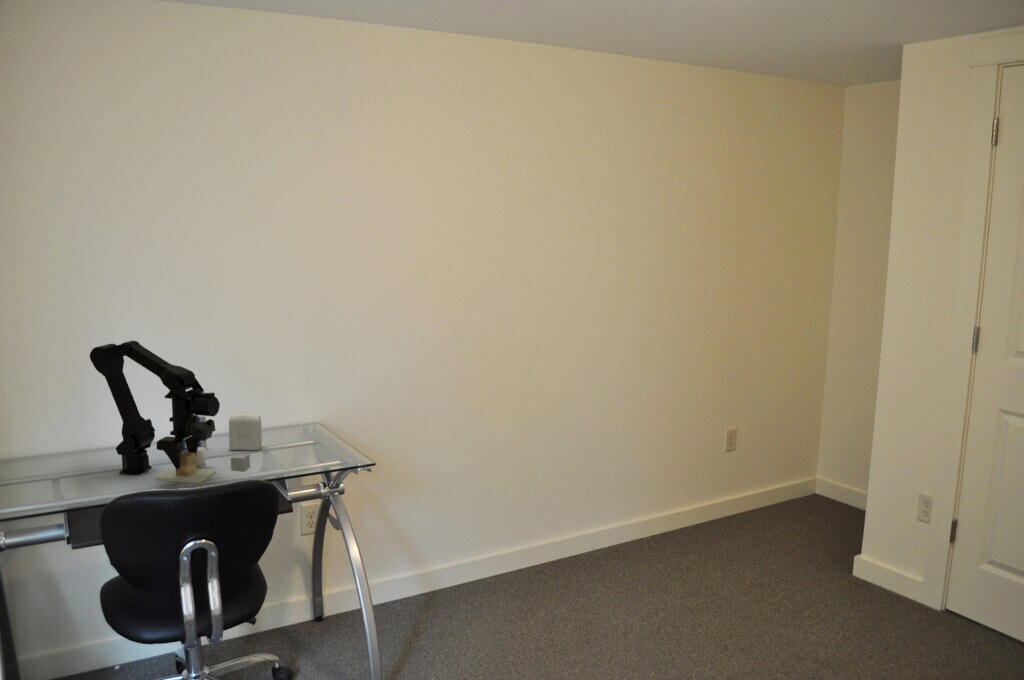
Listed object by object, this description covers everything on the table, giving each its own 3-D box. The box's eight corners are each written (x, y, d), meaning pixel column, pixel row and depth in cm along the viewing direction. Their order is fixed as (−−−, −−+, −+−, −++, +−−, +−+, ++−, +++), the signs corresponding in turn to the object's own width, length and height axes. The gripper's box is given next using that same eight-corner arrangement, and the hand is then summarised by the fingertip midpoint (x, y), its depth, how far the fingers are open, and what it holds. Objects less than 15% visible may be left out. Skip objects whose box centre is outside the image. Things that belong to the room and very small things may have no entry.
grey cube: (231, 470, 230) (230, 457, 229) (237, 465, 234) (237, 453, 233) (243, 471, 229) (243, 458, 229) (249, 466, 233) (249, 454, 233)
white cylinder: (187, 466, 232) (186, 450, 231) (195, 461, 236) (194, 446, 235) (201, 467, 231) (200, 452, 230) (208, 462, 235) (207, 447, 234)
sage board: (155, 479, 220) (155, 477, 220) (173, 469, 229) (172, 466, 229) (199, 483, 218) (199, 480, 218) (216, 472, 227) (216, 470, 227)
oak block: (175, 475, 222) (174, 456, 221) (183, 470, 226) (182, 451, 224) (188, 476, 221) (187, 457, 220) (196, 471, 225) (195, 452, 224)
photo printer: (263, 446, 252) (262, 411, 250) (260, 450, 248) (259, 414, 246) (231, 447, 251) (229, 411, 248) (228, 451, 246) (226, 414, 244)
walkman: (182, 454, 242) (180, 418, 240) (180, 452, 244) (178, 416, 242) (207, 450, 246) (206, 415, 244) (205, 448, 249) (204, 413, 246)
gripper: (191, 424, 210) (193, 477, 213) (225, 406, 228) (227, 456, 231) (154, 421, 211) (156, 474, 214) (190, 404, 230) (193, 453, 232)
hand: (185, 464), depth 223 cm, fingers open, 8 cm apart
